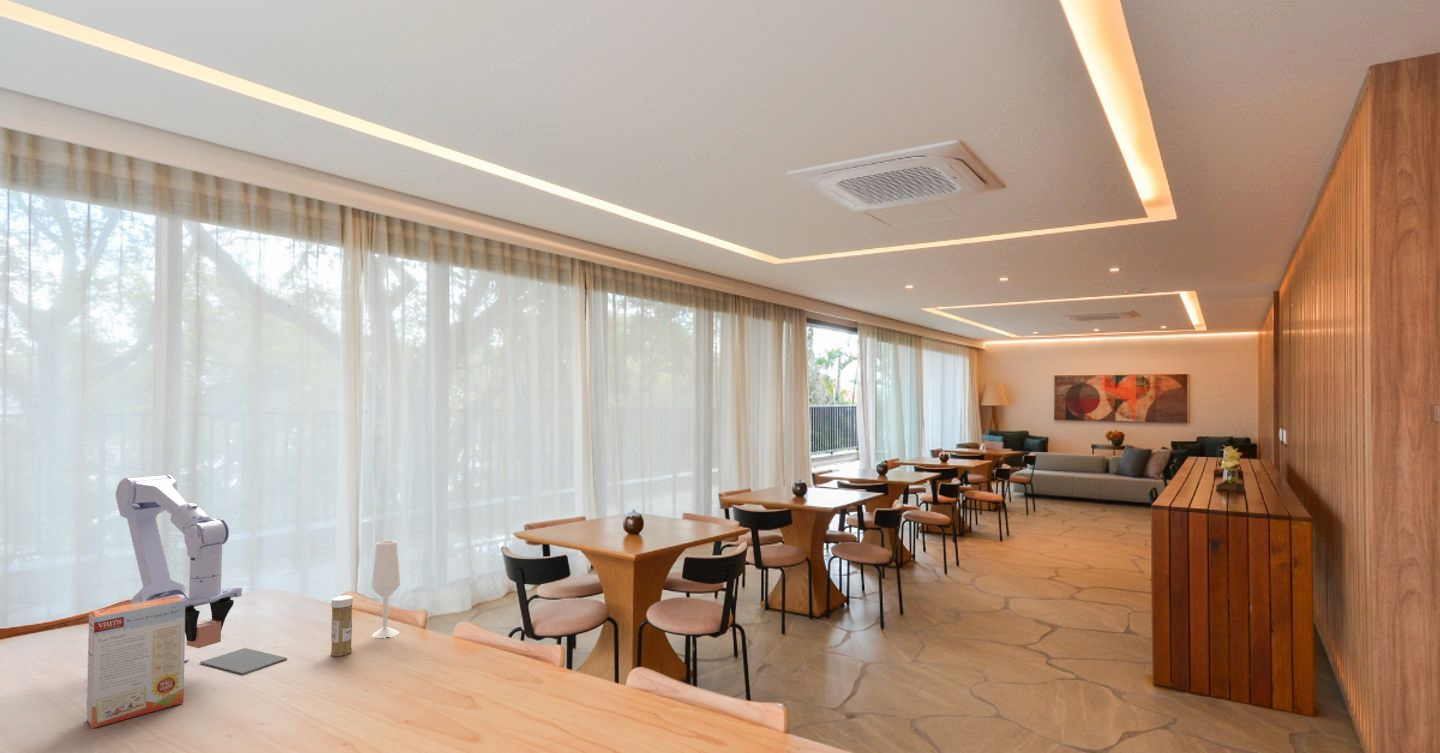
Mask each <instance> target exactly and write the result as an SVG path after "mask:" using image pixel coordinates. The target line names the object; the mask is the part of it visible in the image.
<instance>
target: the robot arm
mask: <svg viewBox="0 0 1440 753" xmlns="http://www.w3.org/2000/svg"><path fill="white" fill-rule="evenodd" d="M177 488H178V485H177V480H175V478H174V477H173V476H172V475H171V474H163V475H155V476H143V477H142V476H141V477H132V478H130V477H124V478H123V479H121V480H120V482H118V484H117V487H116V491H115V499H116V503H117V508H118V511H119V514H120V516H121V518H122V517H123V518H125V519H126V520H127V525H128V529H129V533H130V537H131V542H132V545H133V550H134V553H135V558H136V561H137V567H138V571H139V576H140V579H141V584H142V588H141V589H140V590H139V591H138V592H136V594H135V595H134V596H133V597H132V599H131V600H130V604H134V603H140V602H145V601H151V600H157V599H162V598H168V597H173V596H179V597H181V598H182V599H184V600H185V637H186V638H185V639H186V642H187V641H191V642H193V641H195V640H196V628H197V622H198V621H199V616H200V612H201V611H200V610H197V609H196V607H199V606H203V605H207V604H209V606H210V613H211V619H212V620H217V621H221V631H222V629H223V626H224V623H225V620H226V618H227V616H228V614H229V612H230V611H231V609H232V607H233V606H234V603H235V602H234V599H233V598H239V597H242V595H243V594H242V592H243V589H242V587H239V586H235V587H230V588H226V589H225V588H224V589H222V568H223V567H222V565H223V545H224V544H226V542H228V539H229V536H230V531H229V530H230V529H229V526H228V523H227V522H226V521H225V519H222V518H218V519H217V518H212V517H211V516H210V515H208V513H206V512H205V511H204V510H203V509H202V508H201V507H200V506H199V505H198V504H197V503H190V502H186V500H185V499H184V498H183V496H182V495H181V494H180V493H179V492H178V489H177ZM165 511H167V513H169V514H170V522H171V524H173V526H175V527H176V528H177V529H178V530H179V531H180V532H181V533H182V534H183V535H184V543H185V546H186V553H187V556H188V557H189V583H188V584H189V585H188V586H189V588H188V592H187V590H186V586H185V585H184V584H183V583H180V582H177V581H175V580H173V579H171V575H170V571H169V566H168V564H167V559H166V555H165V551H164V547H163V542H162V539H161V535H160V530H159V526H158V523H157V517H158V515H159V514H161V513H163V512H165ZM189 660H190V658H189V657H185V656H184V663H185V662H188V661H189Z"/></svg>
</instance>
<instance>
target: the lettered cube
mask: <svg viewBox="0 0 1440 753" xmlns="http://www.w3.org/2000/svg"><path fill="white" fill-rule="evenodd" d="M221 640H222V630H221V621H217V620H212V618H208V619H204V620H200V621H199V620H198V621H197V628H196V640H195V641H193V642H191V641H187V640H186V646H188V647H190V648H191V647H192V648H196V649H200V648H203V647H204V648H205V647H207V646H212V645H215V644H218V643H221Z"/></svg>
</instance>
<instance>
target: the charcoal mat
mask: <svg viewBox="0 0 1440 753" xmlns="http://www.w3.org/2000/svg"><path fill="white" fill-rule="evenodd" d="M286 659H287V660H288V657H285V656H280V655H276V654H272V653H270V652H269V653H268V652H263V651H259V650H255V649H251V648H247V647H244V648H240V649H237V650H234V651H231V652H228V653H223V654H221V655H218V656H214V657H212V658H209V659H205V660H202V661H200V662H199V664H200V663H202V664H201V665H203V664H206V665H205V666H207V665H210V666H209V667H211V666H213V667H212V668H214V667H218V668H221V669H220V670H222V669H225V670H224V671H226V670H228V671H227V672H230V671H231V673H233V672H235V673H234V674H237V673H238V675H242V676H243V675H246V674H250V673H252V672H255V670H256V671H258V669H259V670H261V669H265V668H267V667H270V666H272V664H273V665H275V663H276V664H279V663H281V661H282V662H284V660H285V661H286ZM278 662H279V663H278ZM269 665H270V666H269ZM266 666H267V667H266ZM218 668H217V669H218ZM249 672H250V673H249Z"/></svg>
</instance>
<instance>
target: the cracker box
mask: <svg viewBox="0 0 1440 753" xmlns="http://www.w3.org/2000/svg"><path fill="white" fill-rule="evenodd" d="M185 637H186V634H185V600H184V599H182V598H181V597H179V596H173V597H168V598H162V599H157V600H151V601H145V602H140V603H134V604H131V603H129V604H124V605H119V606H113V607H108V608H102V609H97V610H92V611H89V613H88V639H87V640H88V642H87V643H88V644H87V645H88V646H87V647H88V648H87V689H86V690H87V691H86V692H87V695H86V721H87V722H88V724H89V725H90V727H91V729H95V728H99V727H103V726H107V725H109V724H113V723H117V722H120V721H123V720H124V721H125V720H126V719H130V718H134V717H138V716H142V715H145V714H148V713H152V712H155V711H160V710H162V709H163V710H164V709H166V708H171V707H174V706H178V705H181V704H183V703H184V700H185V698H184V696H185V695H184V693H185V662H184V657H185V642H186V641H185V640H186V638H185Z"/></svg>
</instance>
